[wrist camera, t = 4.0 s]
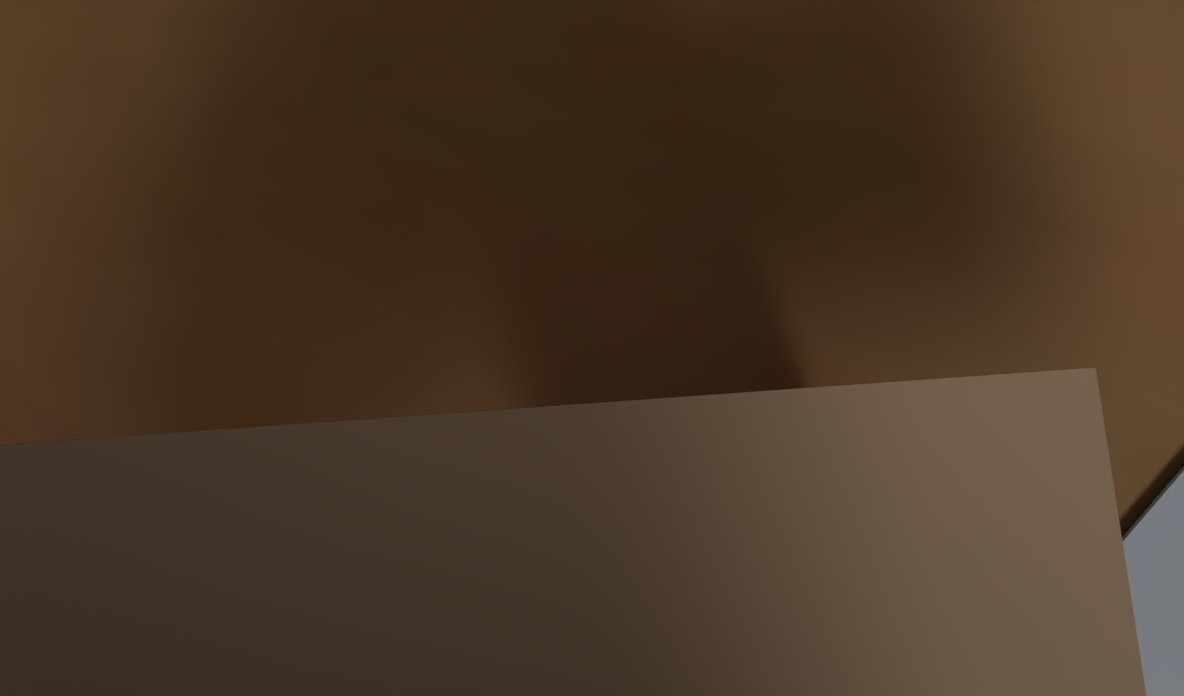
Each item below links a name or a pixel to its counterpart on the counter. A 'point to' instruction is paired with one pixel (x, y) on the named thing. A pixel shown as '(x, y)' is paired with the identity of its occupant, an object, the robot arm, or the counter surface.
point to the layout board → (1159, 588)
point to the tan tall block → (585, 551)
